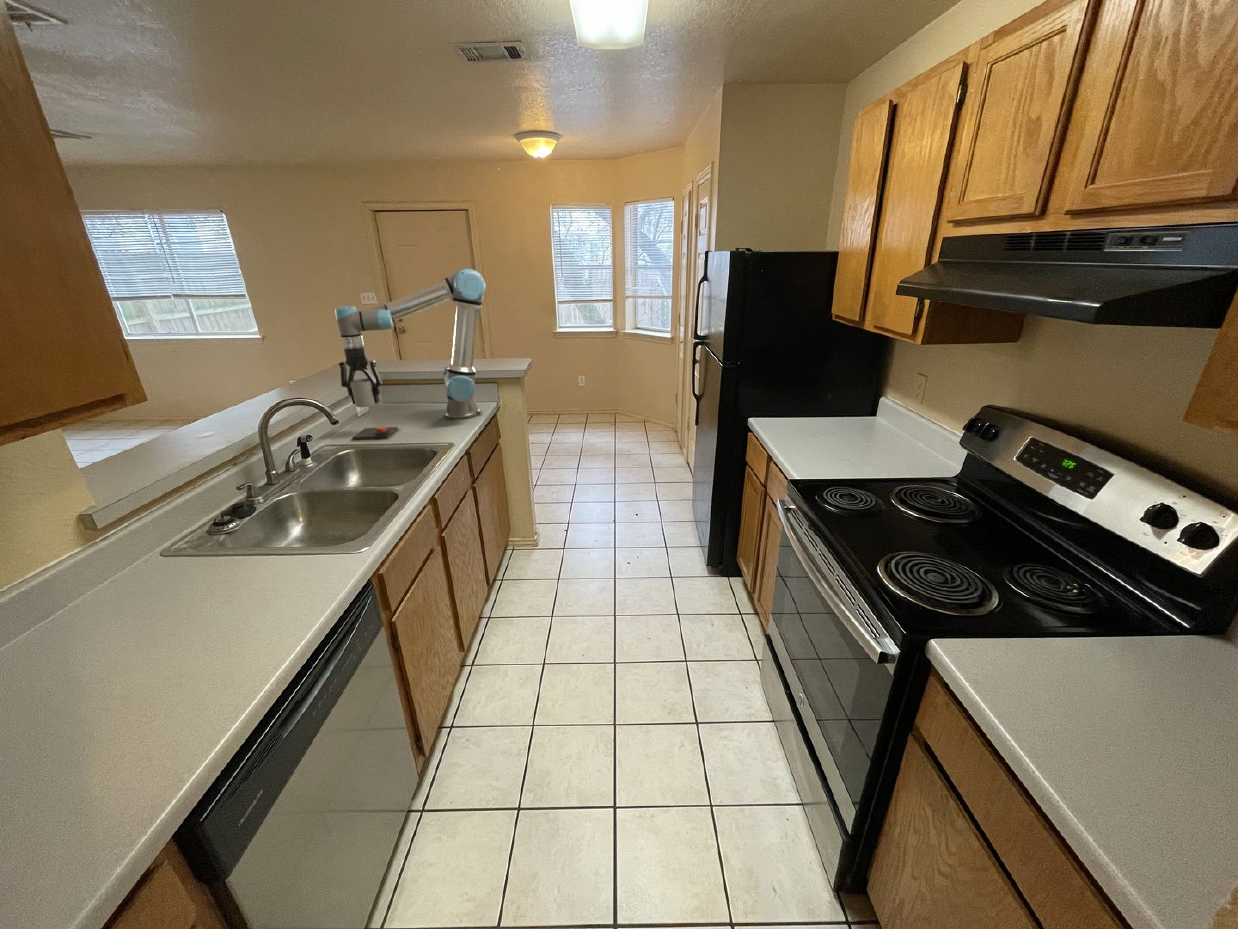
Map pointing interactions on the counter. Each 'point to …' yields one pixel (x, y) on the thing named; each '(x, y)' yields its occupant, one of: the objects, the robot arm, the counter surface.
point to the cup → (363, 392)
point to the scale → (375, 433)
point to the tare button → (381, 429)
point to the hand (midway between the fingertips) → (366, 402)
